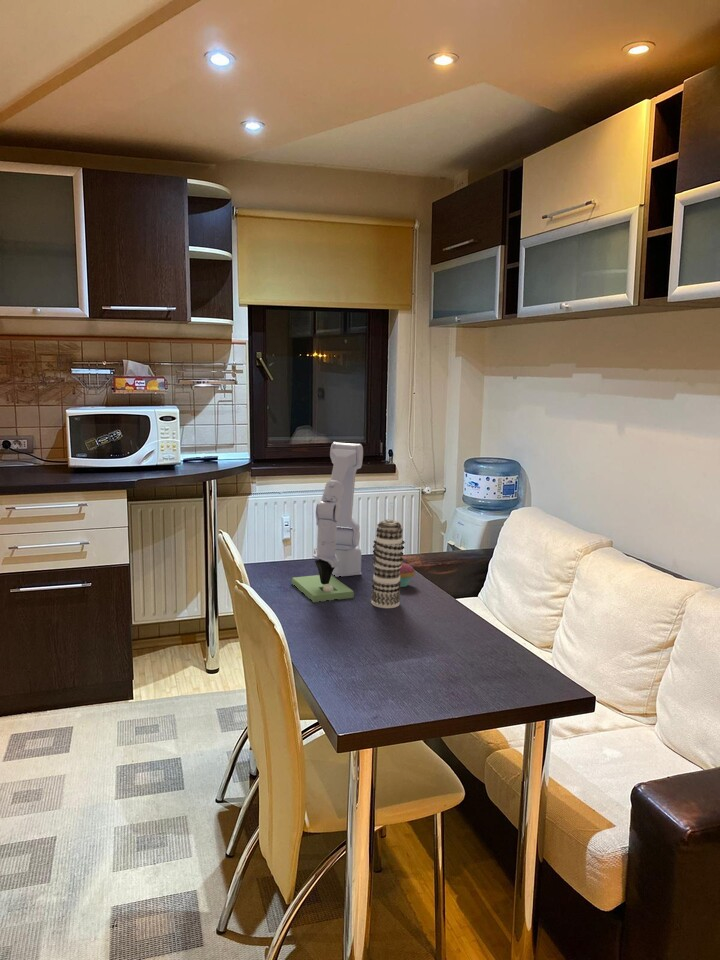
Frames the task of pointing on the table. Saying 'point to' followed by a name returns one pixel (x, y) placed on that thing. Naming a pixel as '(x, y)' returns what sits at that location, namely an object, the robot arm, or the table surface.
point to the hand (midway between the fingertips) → (324, 583)
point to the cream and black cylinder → (387, 564)
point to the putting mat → (315, 588)
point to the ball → (327, 588)
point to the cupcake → (405, 574)
